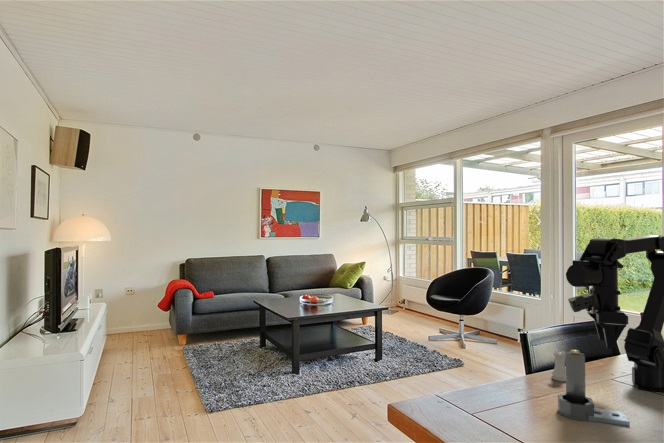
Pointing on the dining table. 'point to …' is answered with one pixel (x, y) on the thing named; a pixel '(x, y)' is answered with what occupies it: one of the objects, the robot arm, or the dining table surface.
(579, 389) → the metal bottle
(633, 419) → the dining table surface
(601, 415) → the hinge leaf
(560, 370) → the rook chess piece
